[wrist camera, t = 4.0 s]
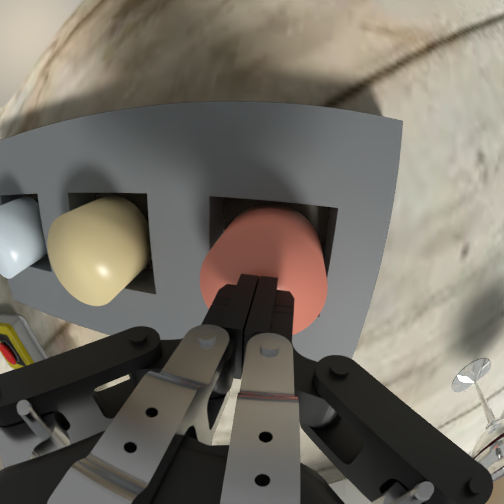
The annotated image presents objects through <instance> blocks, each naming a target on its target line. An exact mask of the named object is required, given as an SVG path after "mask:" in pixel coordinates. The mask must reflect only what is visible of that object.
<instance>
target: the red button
mask: <svg viewBox="0 0 504 504" xmlns="http://www.w3.org/2000/svg"><path fill="white" fill-rule="evenodd" d="M241 274H250V275H258V276H259V279H260V276H268V277H277V278H278V286H277V290H284V291H290V292H291V294H292V295H293V297H294V299H295V301H294V318H293V333H292V335H294V334H296V333H298V332H300V331H302V330H304V329H305V328H307V327H308V326H309V325H310V324H311V323H312V322H313V321H314V320H315V319H316V318H317V317H318V315H319V314H320V312H321V311H322V309H323V306H324V304H325V301H326V297H327V290H328V288H327V277H326V271H325V265H324V259H323V253H322V247H321V242H320V239H319V236H318V233H317V232H316V230H315V228H314V227H313V225H312V224H311V223H310V221H309V220H308V219H307V218H306V217H304V216H303V215H302V214H300V213H299V212H297V211H296V210H293V209H291V208H289V207H286V206H282V205H276V204H264V205H258V206H254V207H251V208H249V209H247V210H245V211H243V212H242V213H240V214H239V215H238V216H237V217H236V218H235V219H233V221H232V222H231V223H230V224H229V226H228V227H227V228H226V230H225V231H224V232H223V234H222V235H221V236H220V238H219V239H218V240H217V242H216V243H215V244H214V246H213V247H212V248H211V250H210V251H209V252H208V254H207V255H206V257H205V259H204V261H203V264H202V267H201V272H200V289H201V293H202V296H203V299H204V301H205V303H206V305H207V307H208V309H209V308H210V306H211V305H212V302H213V300H214V299H215V296H216V294H217V292H218V290H219V289H220V288H222V287H223V286H225V285H226V284H233V285H237V282H238V280H239V277H240V275H241Z"/></svg>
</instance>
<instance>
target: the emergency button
mask: <svg viewBox="0 0 504 504" xmlns="http://www.w3.org/2000/svg"><path fill="white" fill-rule="evenodd" d="M0 352H1V353H2V355H3V356H4V358H5V359H6V361H7V362H8V364H9V365H10V366H11V367H12V368H14V369H18V368H21V367H24V366H27V365H30V364H32V363H35V362H38V361H41V360H44V359H47V358H49V357H48V356H47V354H46V353H45V351H44V350H43V348H42V346H41V345H40V343H39V341H38V340H37V338H36V336H35V335H34V333H33V331H32V329H31V328H30V326H29V324H28V322H27V320H26V319H25V318H24V317H23V316H21V315H7V314H0Z"/></svg>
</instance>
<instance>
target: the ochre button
mask: <svg viewBox="0 0 504 504" xmlns="http://www.w3.org/2000/svg"><path fill="white" fill-rule="evenodd" d="M47 248H48V255H49V259H50V263H51V265H52V268H53V270H54V272H55V274H56V276H57V278H58V280H59V281H60V283H61V284H62V285H63V286H64V288H65V289H66V290H67V291H68V292H69V293H70V294H71V295H72V296H74V297H75V298H76V299H78V300H79V301H81V302H83V303H85V304H88V305H91V306H103V305H106V304H107V303H109V302H110V301H111V300H112V299H113V298H114V297H115V296H116V295H117V294H118V293H119V292H120V291H121V290H122V289H123V288H125V287H126V286H127V285H128V284H129V283H130V282H131V281H132V280H133V279H134V278H135V277H136V276H137V275H138V274H139V273H140V272H141V271H142V270H143V269H144V268H145V267H146V266H147V264H148V263H149V261H150V258H151V255H152V253H151V243H150V231H149V224H148V222H147V220H146V218H145V217H144V215H143V214H142V212H141V211H140V210H139V209H138V208H137V207H136V206H135V205H134V204H133V203H132V202H130V201H129V200H127V199H125V198H123V197H120V196H115V195H109V196H104V197H102V198H99V199H97V200H94V201H92V202H90V203H87V204H85V205H83V206H81V207H78V208H76V209H74V210H72V211H69V212H67V213H65V214H63V215H61V216H59V217H58V218H56V219H55V220H54V222H53V223H52V225H51V227H50V229H49V233H48V239H47Z"/></svg>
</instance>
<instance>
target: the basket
mask: <svg viewBox="0 0 504 504" xmlns="http://www.w3.org/2000/svg"><path fill="white" fill-rule="evenodd" d="M329 486H330V487H331V488H332V489H333V490H334V492H335V493H336V494H337V495H338V496H339V497H340V498H341V500H342V501H343V502H344V503H345V504H371V502H370V501H369V500H368V499H367V498H366V497H365V496H364V495H363V494H362V493H361V492H360V491H359V490H358V489H357V488H356V487H355V486H354V485H353V484H352V483H351V482H350V481H349V480H348V479H346V480H342V481H338V482H334V483H331V484H329Z"/></svg>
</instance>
